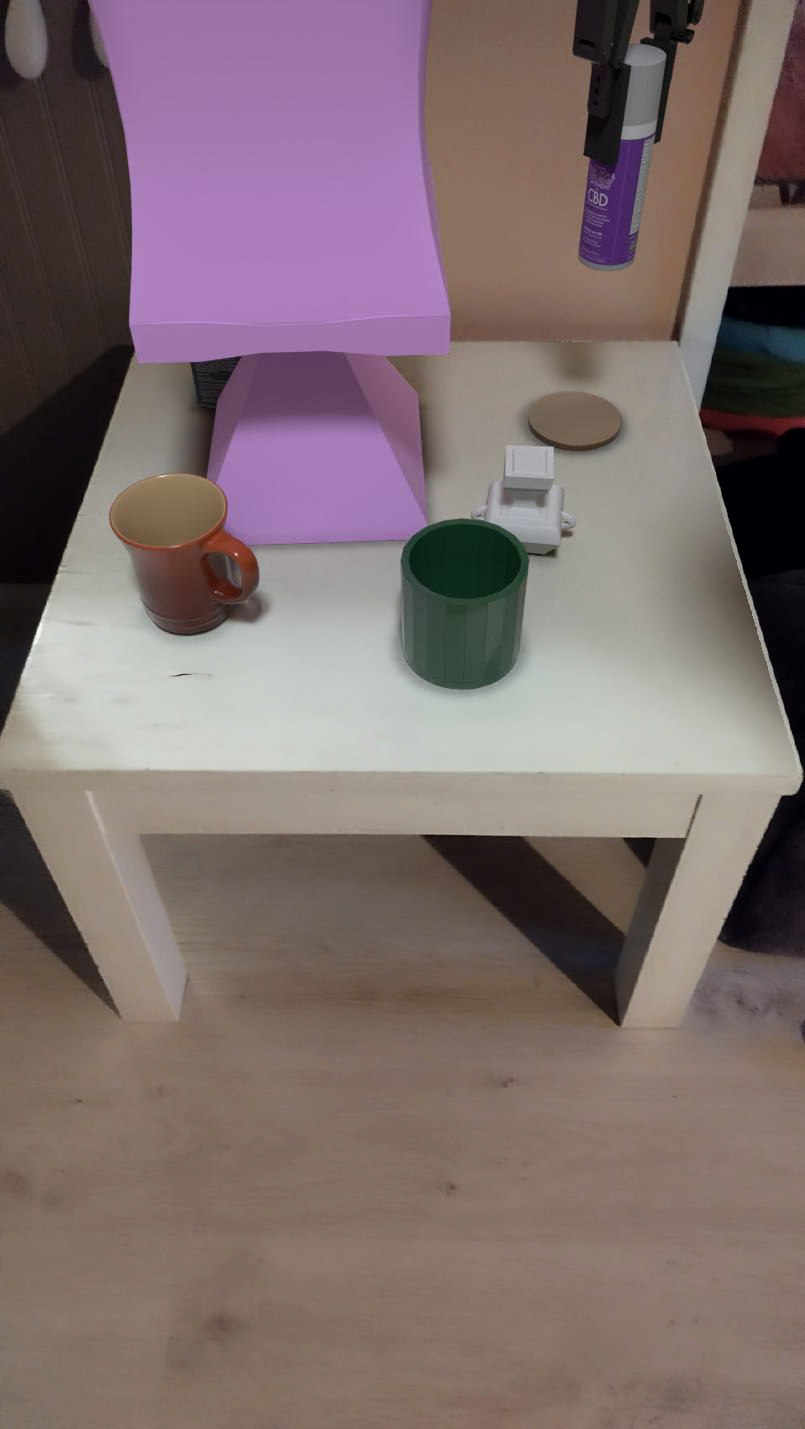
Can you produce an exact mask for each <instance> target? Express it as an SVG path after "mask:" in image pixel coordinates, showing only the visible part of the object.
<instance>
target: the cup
mask: <svg viewBox="0 0 805 1429" xmlns="http://www.w3.org/2000/svg"><path fill="white" fill-rule="evenodd" d="M399 562H400V565H399V566H400V599H401V600H400V607H401V608H400V611H401V612H400V613H401V614H400V616H401V641H402V652H403V656H404V658H405V660H406V663H407V665H408V666H409V667H410V669H412V671H413V672H414V673H416V675H418V676H419V677H420V678H422V679H424V681H427V682H429V683H431V684H432V685H436V686H439V687H443V688H447V689H453V690H474V689H478V688H479V689H480V688H482V687H486V686H489V685H492V684H494V683H496V682H497V681H500V680H501V679H502V678H504V677H505V676H506V675H507V674H509V673H510V672H511V670H512V669H513V668H514V666H515V665H516V663H517V660H518V658H519V655H520V647H521V640H522V639H521V638H522V631H523V620H524V612H525V603H526V596H527V594H526V593H527V585H528V577H529V568H530V557H529V555H528V553H527V552H526V549H525V547H524V545H523V544H522V543H521V542H520V541H519V539H518V538H517V537H516V536H515V535H514V534H512V533H511V532H509V531H507V530H506V529H504V528H503V527H501V526H499V525H496V524H493V523H490V522H487V521H483V520H475V519H472V518H463V517H462V518H461V517H460V518H452V519H444V520H441V521H438V522H435V523H431V524H428V526H427V527H425V528H423V529H422V530H420V531H419V532H417V533H416V534H414V535H413V536H412V537H411V538H410V540H407V542H406V544H404V546H403V547H402V552H401V557H400V560H399Z"/></svg>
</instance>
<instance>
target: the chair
mask: <svg viewBox="0 0 805 1429" xmlns="http://www.w3.org/2000/svg"><path fill="white" fill-rule="evenodd" d="M433 2H434V0H87V3H88V5H89V9H90V11H91V14H92V16H93V20H94V24H95V26H96V29H97V33H98V36H99V39H100V42H101V46H102V49H103V53H104V56H105V59H106V62H107V67H108V70H109V74H110V76H111V80H112V86H113V88H114V89H113V90H114V94H115V97H116V103H117V107H118V111H119V115H120V120H121V123H122V128H123V135H124V141H125V149H126V156H127V166H128V174H129V182H130V204H131V207H130V208H131V209H130V210H131V231H132V232H131V269H130V270H131V272H130V273H131V274H130V292H129V312H128V314H129V315H128V326H129V329H130V330H129V331H130V334H131V338H132V343H133V346H134V351H135V354H136V359H137V363H138V365H140V364H168V363H169V364H171V363H172V364H173V363H190V362H202V361H209V360H216V359H223V358H230V357H237V356H242V357H241V358H240V360H239V362H238V364H237V366H236V367H235V369H234V371H233V373H232V375H231V377H230V378H229V380H228V382H227V384H226V386H225V388H224V389H223V391H222V393H221V395H220V397H219V398H218V401H217V408H215V416H214V422H213V423H214V424H213V429H212V437H211V444H210V450H209V451H210V452H209V458H208V465H207V473H206V479H208V480H210V481H212V482H214V483H215V484H217V485H218V486H219V487H220V488H221V489H222V490H223V492H224V494H225V496H226V498H227V502H228V513H227V519H226V524H225V529H224V530H225V531H226V532H228V533H230V534H231V535H232V536H233V537H235V538H236V539H238V540H240V541H242V542H243V543H245V544H246V545H247V546H263V545H264V546H266V545H267V546H268V545H294V544H295V545H296V544H321V543H322V544H327V543H353V542H354V543H357V542H384V541H387V542H388V541H409V540H410V538H411V537H412V536H413V535H414V534H416V533H417V532H419V531H420V530H422V529H423V528H425V527H427V526H429V523H428V510H427V509H428V508H427V497H426V483H425V472H424V458H423V444H422V433H421V419H420V405H419V393H418V392H417V391H416V390H415V388H413V387H412V385H410V383H409V382H408V381H407V380H406V379H405V377H404V376H403V375H402V374H401V373H400V372H399V371H398V369H397V368H396V367H395V366H394V365H393V364H392V362H391V361H390V360H389V359H388V358H387V357H397V356H430V355H431V356H433V355H450V353H451V352H450V351H451V349H450V348H451V307H450V306H451V305H450V299H449V291H448V282H447V278H446V268H445V263H444V256H443V248H442V240H441V231H440V224H439V215H438V204H437V196H436V195H437V194H436V187H435V181H434V180H435V178H434V172H433V168H432V162H431V158H430V152H429V147H428V142H427V136H426V119H425V118H426V117H425V106H426V83H427V82H426V81H427V80H426V79H427V61H428V60H427V59H428V49H429V41H430V31H431V21H432V10H433Z"/></svg>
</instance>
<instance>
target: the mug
mask: <svg viewBox="0 0 805 1429" xmlns="http://www.w3.org/2000/svg"><path fill="white" fill-rule="evenodd" d="M227 513H228V502H227V498H226V496H225V494H224V492H223V490H222V489H221V488H220V487H219V486H218V485H217V484H215V483H214V482H212V481H210V480H208V479H207V477H204V476H201V475H198V474H192V473H185V472H171V473H169V472H168V473H162V474H161V473H160V474H156V475H152V476H149V477H146V478H144V479H141V480H139V481H137V482H135V483H132V484H131V485H130V486H128V487H127V488H126V489H124V490H123V491H122V492H121V493H119V494H118V496H117V497H116V498H115V499H114V501H113V502H112V503H111V507H110V509H109V513H108V521H109V525H110V528H111V530H112V532H113V533H114V535H115V536H116V538H117V539H118V540H119V541H120V543H121V545H122V546H123V547H124V548H125V550H126V551H127V553H128V555H129V557H130V560H131V563H132V568H133V573H134V577H135V581H136V585H137V589H138V591H139V598H140V601H141V602H142V604H143V606H144V607H145V609H146V612H147V613H148V615H149V617H150V618H151V620H152V621H153V622H154V624H156V625H157V626H158V627H159V628H161V629H163V630H166V631H167V632H171V633H175V634H195V633H200V632H203V631H208V630H209V629H212V628H213V627H216V626H218V624H220V623H221V622H222V621H224V619H226V617H227V616H228V615H229V614H230V613H231V612H232V609H233V607H234V605H237V604H238V605H239V604H244V603H245V602H247V601H249V600H250V599H251V598H252V597H253V596H254V595H255V593H256V592H257V589H258V587H259V585H260V566H259V562H258V559H257V556H256V555H255V552H254V551H253V550H252V548H250V546H249V545H246V544H245V543H243V542H242V541H240V540H238V539H236V538H235V537H233V536H232V535H231V534H230V533H228V532H226V531H225V530H224V529H225V524H226V519H227ZM230 559H232V560H233V561H234V562H235V563H236V564H237V567H238V568H239V571H240V578H241V586H239V585H237V584H235V578H234V575H233V572H232V567H231V561H230Z"/></svg>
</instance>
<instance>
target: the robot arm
mask: <svg viewBox="0 0 805 1429" xmlns="http://www.w3.org/2000/svg"><path fill="white" fill-rule="evenodd" d="M705 1H706V0H649V22H648V23H649V28H648V29H649V30H648V31H649V34H650V35H653V37H648V36H645V37H643V38H641V39H640V40H639V44H645V45H650V46H654V47H657V48H659V49H661V50H663V51H664V52H665V53H666V62H665V69H664V76H663V83H662V90H661V97H660V104H659V111H658V118H657V125H656V132H655V138H654V144H653V145H656V144H658V143H659V142H661V139H662V134H663V129H664V123H665V117H666V111H667V105H668V100H669V93H670V87H671V83H672V80H673V75H674V69H675V62H676V58H677V57H676V56H677V51H678V45H679V43H681V44H684V45H688V46H689V45H690V44H691V43H692V42H693V40H694V37H695V34H696V30H694V29H691V28H688V27H690V25H691V26H697V25H699V23H700V22H701V20H702V16H703V12H704V6H705ZM640 2H641V0H577V1H576V11H575V21H574V29H573V30H574V32H573V41H572V55H573V57H575V58H578V59H581V60H584V61H588V62H589V63H590V65H591V68H590V70H591V71H590V72H591V73H590V77H589V78H590V80H589V87H588V96H587V103H586V108H587V109H586V110H587V120H586V127H585V128H586V129H585V138H584V145H583V154H582V156H584V157H585V158H586V157H587V158H589V159H590V158H592V159H594V160H597V161H600V162H602V163H605V164H608V165H611V166H612V165H614V164H616V163H618V156H619V149H620V142H621V136H622V129H623V122H624V115H625V108H626V101H627V94H628V87H629V80H630V73H631V66H632V65H628V64H625V63H624V60H625V57H626V53H627V49H628V45H629V44H630V40H631V36H632V33H633V28H634V26H635V21H636V18H637V14H638V9H639V7H640V6H639V5H640Z"/></svg>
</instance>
